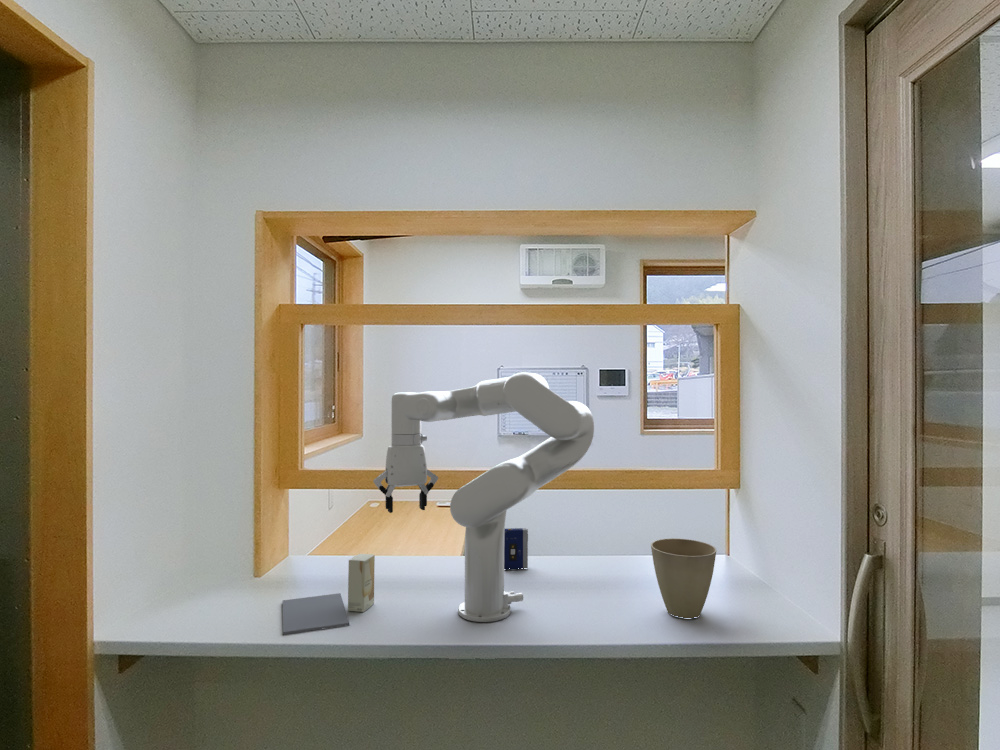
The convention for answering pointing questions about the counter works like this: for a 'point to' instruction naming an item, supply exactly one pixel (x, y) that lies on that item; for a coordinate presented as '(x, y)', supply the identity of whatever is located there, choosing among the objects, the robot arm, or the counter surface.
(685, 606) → the plant pot
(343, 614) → the mat
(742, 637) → the counter surface
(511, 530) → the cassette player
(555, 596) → the counter surface
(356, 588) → the skincare box
